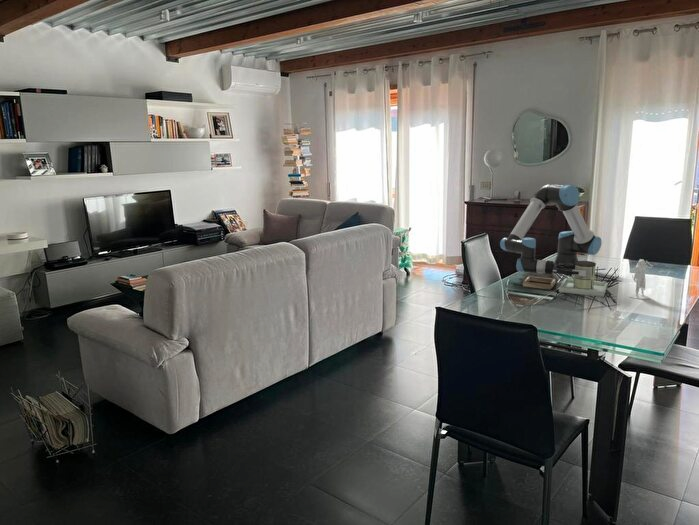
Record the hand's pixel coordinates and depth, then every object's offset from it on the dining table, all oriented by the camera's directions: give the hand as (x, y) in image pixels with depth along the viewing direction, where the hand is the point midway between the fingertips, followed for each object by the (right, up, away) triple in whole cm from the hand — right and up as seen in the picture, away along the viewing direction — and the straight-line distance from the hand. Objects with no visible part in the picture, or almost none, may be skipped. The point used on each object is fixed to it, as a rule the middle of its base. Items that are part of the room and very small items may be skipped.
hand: (587, 270), depth 285 cm
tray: (-1, -10, +3) cm, 11 cm away
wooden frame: (-21, -8, +14) cm, 26 cm away
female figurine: (+19, -14, -15) cm, 28 cm away
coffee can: (-1, -10, +3) cm, 10 cm away
